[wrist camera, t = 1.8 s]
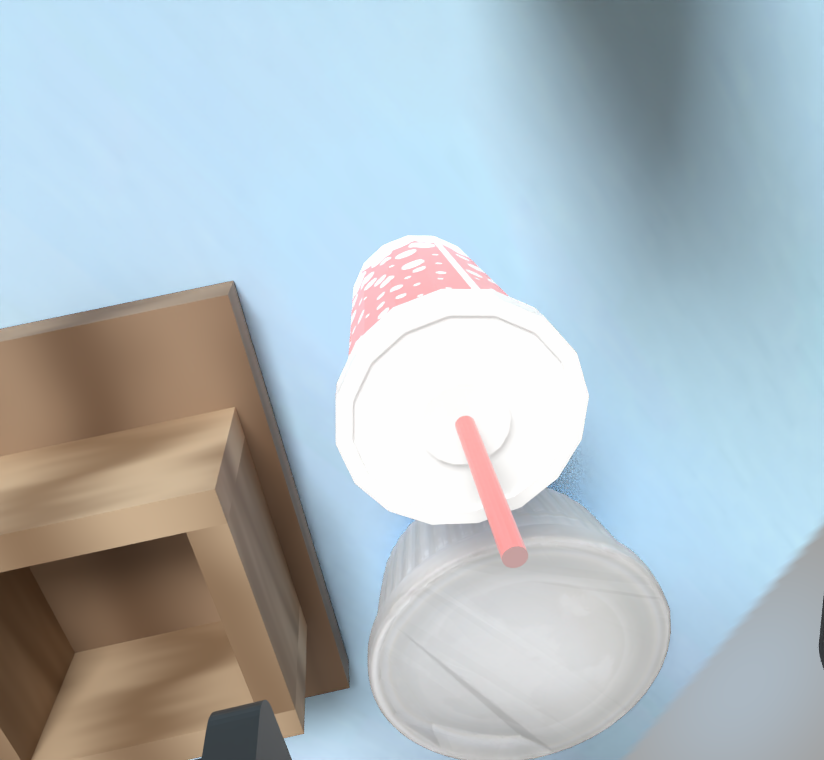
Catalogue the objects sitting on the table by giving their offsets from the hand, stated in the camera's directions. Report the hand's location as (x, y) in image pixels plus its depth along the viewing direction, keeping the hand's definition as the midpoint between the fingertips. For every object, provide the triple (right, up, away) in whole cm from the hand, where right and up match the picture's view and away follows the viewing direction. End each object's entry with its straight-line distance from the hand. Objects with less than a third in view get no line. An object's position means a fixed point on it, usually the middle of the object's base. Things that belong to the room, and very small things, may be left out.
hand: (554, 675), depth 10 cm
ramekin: (+1, -4, +21) cm, 21 cm away
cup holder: (-12, -2, +17) cm, 21 cm away
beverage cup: (-2, +7, +15) cm, 17 cm away
